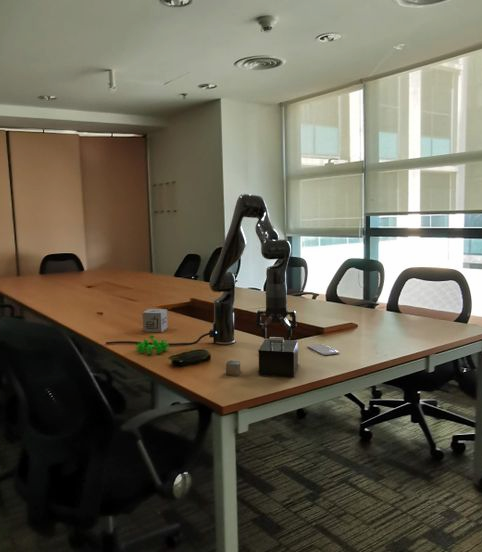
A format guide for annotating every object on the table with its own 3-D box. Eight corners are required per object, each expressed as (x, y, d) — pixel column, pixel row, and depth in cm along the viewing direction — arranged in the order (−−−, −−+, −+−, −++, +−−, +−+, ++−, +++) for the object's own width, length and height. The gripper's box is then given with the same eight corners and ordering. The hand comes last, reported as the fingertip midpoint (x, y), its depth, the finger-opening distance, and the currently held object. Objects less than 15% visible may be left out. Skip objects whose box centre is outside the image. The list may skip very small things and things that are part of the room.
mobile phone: (322, 342, 221) (339, 351, 206) (322, 344, 221) (339, 353, 207) (306, 344, 219) (323, 353, 204) (306, 346, 219) (323, 355, 204)
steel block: (226, 375, 182) (226, 363, 182) (228, 371, 186) (228, 360, 186) (237, 375, 181) (237, 364, 180) (240, 372, 185) (240, 360, 185)
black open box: (293, 377, 178) (293, 353, 177) (258, 375, 181) (258, 351, 180) (297, 364, 193) (297, 342, 192) (265, 362, 196) (265, 341, 195)
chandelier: (145, 358, 207) (145, 341, 206) (129, 350, 219) (128, 335, 218) (175, 351, 216) (175, 336, 215) (158, 345, 228) (158, 330, 227)
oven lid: (293, 354, 176) (293, 339, 175) (258, 352, 179) (258, 337, 179) (297, 342, 192) (297, 329, 191) (265, 341, 195) (265, 327, 195)
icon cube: (161, 332, 253) (160, 313, 252) (143, 331, 255) (142, 312, 254) (167, 327, 263) (166, 309, 261) (149, 327, 265) (149, 309, 264)
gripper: (297, 293, 179) (297, 337, 181) (258, 293, 183) (258, 335, 185) (295, 296, 172) (295, 342, 174) (254, 296, 176) (255, 340, 177)
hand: (276, 338), depth 179 cm, fingers open, 8 cm apart
